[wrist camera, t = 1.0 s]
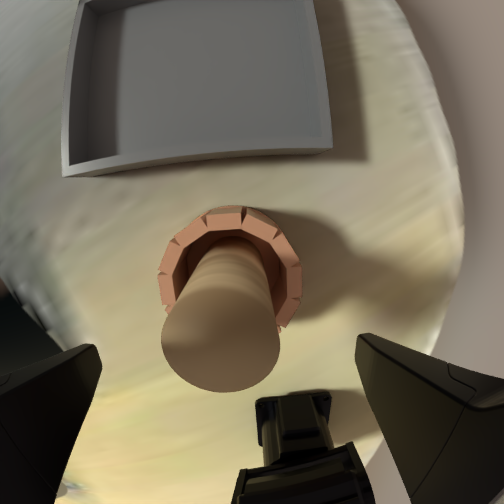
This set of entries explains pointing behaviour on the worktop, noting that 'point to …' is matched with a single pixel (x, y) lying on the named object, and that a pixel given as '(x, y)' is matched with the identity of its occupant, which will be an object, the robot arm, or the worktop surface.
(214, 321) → the dowel
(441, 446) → the robot arm
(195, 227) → the pink short hollow cylinder
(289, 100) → the tray
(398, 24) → the worktop surface
